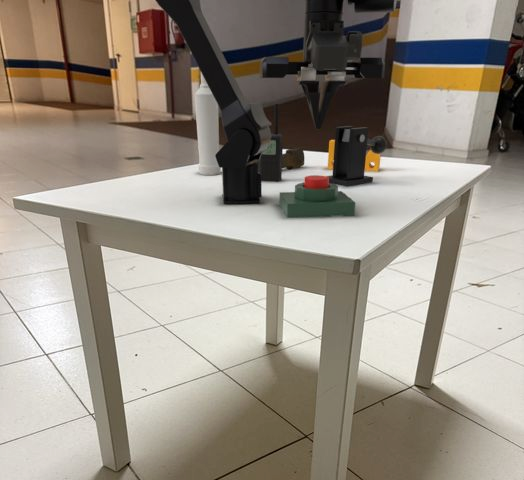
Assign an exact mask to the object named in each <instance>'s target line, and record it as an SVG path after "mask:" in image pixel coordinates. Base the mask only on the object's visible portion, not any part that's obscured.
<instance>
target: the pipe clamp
mask: <svg viewBox="0 0 524 480" xmlns="http://www.w3.org/2000/svg"><path fill="white" fill-rule="evenodd" d="M334 146H335V139H330V140H329V142H328V156H327V170H333V161H334ZM372 163H373V164H374V165H372ZM380 165H381V154H375V153H373V152H372V151H371V149H370V148H369V151H368V152H366V161H365V171H364V172H366V171H367V172H379V170H380Z"/></svg>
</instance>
